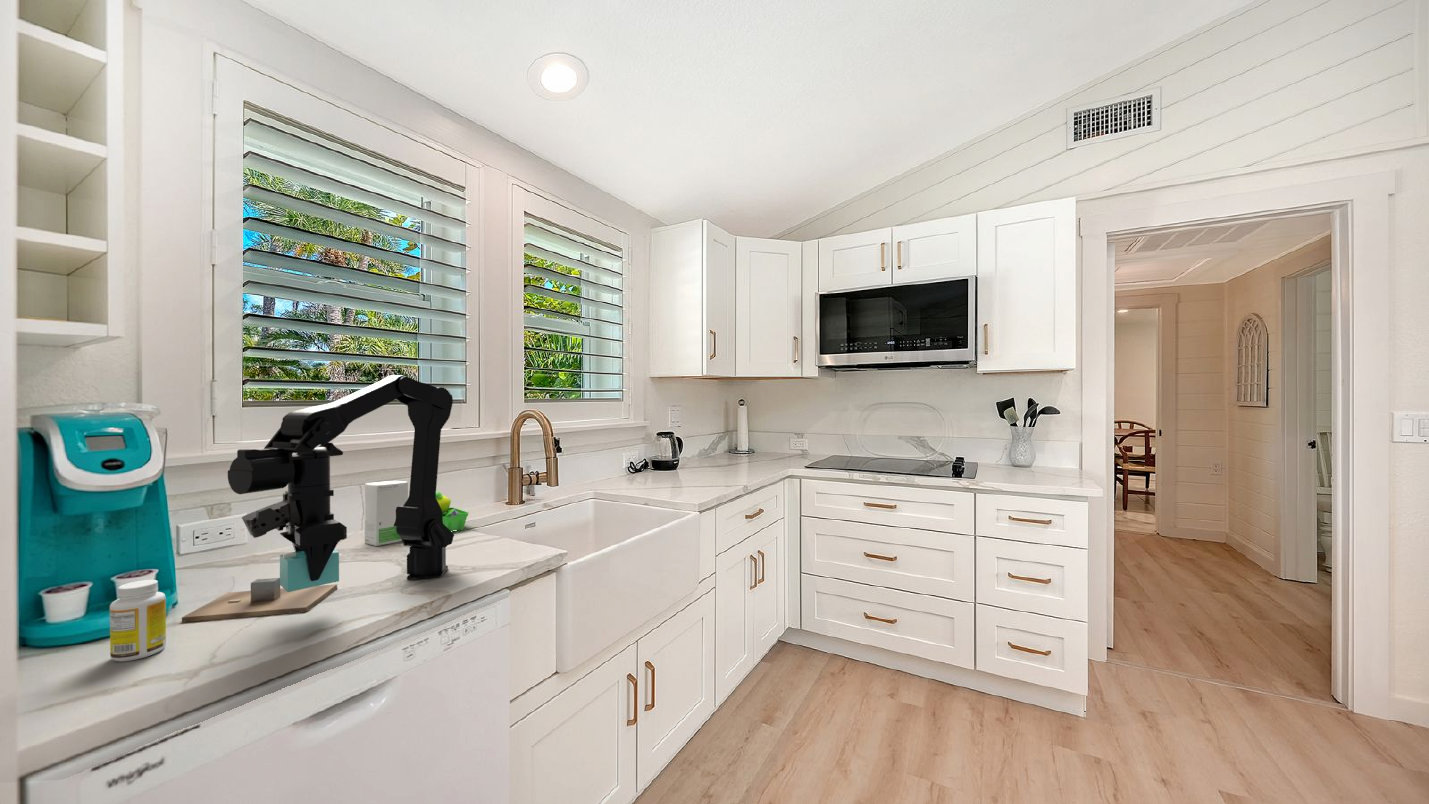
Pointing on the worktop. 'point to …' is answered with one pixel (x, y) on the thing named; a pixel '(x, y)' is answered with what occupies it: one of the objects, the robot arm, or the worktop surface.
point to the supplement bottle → (137, 621)
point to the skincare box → (383, 511)
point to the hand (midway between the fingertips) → (309, 576)
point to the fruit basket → (451, 514)
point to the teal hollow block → (305, 571)
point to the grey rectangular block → (265, 590)
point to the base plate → (260, 604)
